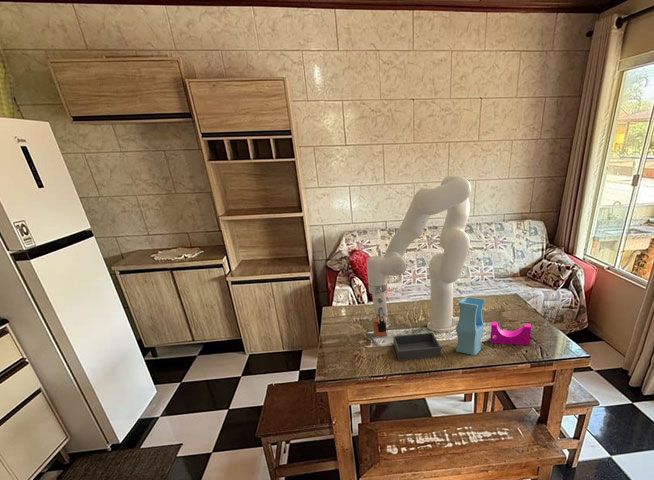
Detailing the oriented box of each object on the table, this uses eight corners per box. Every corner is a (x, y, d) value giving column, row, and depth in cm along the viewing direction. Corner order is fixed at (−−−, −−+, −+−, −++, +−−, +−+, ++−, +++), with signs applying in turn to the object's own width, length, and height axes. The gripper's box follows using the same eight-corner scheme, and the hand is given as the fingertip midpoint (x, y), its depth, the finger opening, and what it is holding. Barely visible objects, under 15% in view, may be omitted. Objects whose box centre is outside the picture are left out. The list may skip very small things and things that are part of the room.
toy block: (528, 338, 165) (530, 321, 162) (528, 344, 160) (531, 327, 156) (491, 336, 169) (492, 319, 165) (490, 342, 163) (491, 325, 160)
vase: (474, 356, 153) (477, 305, 143) (455, 351, 157) (456, 302, 147) (482, 348, 159) (485, 299, 149) (464, 344, 163) (465, 295, 153)
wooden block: (385, 331, 177) (384, 316, 173) (386, 336, 172) (385, 320, 169) (374, 332, 176) (372, 317, 173) (375, 337, 172) (373, 322, 168)
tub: (432, 341, 166) (432, 332, 164) (440, 356, 154) (440, 347, 152) (393, 345, 164) (393, 336, 163) (398, 360, 152) (398, 351, 150)
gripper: (389, 293, 157) (392, 334, 166) (384, 281, 172) (387, 319, 181) (370, 295, 156) (374, 336, 165) (367, 282, 171) (370, 320, 180)
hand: (381, 327), depth 173 cm, fingers open, 9 cm apart
